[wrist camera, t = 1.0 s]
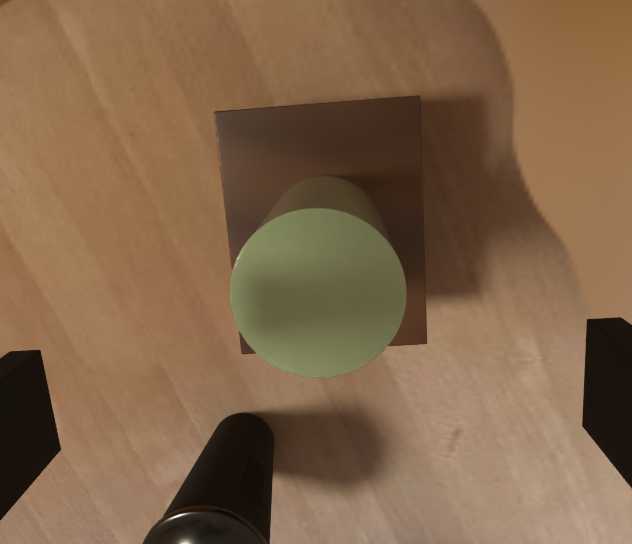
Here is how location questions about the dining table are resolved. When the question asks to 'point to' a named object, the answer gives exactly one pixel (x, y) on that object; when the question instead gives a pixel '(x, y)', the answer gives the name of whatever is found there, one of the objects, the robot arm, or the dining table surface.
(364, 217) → the canister
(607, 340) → the robot arm
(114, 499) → the dining table surface
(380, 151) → the walnut chest
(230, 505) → the drinking cup
